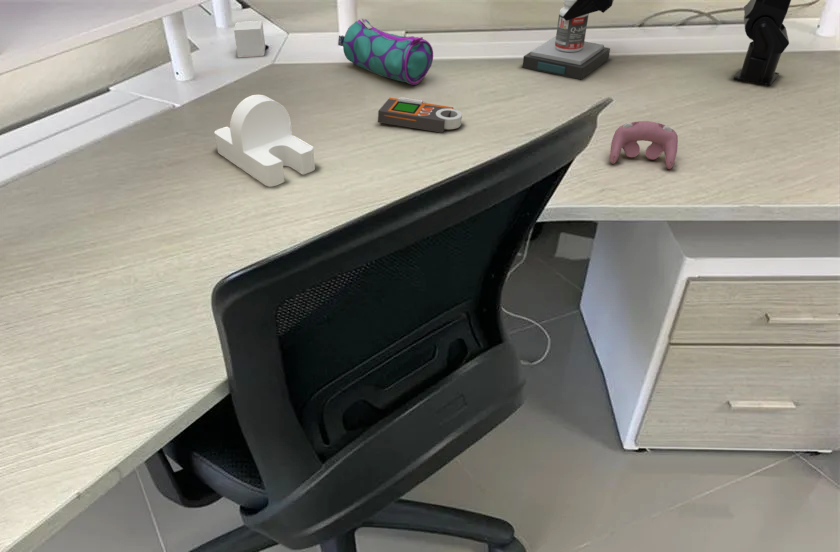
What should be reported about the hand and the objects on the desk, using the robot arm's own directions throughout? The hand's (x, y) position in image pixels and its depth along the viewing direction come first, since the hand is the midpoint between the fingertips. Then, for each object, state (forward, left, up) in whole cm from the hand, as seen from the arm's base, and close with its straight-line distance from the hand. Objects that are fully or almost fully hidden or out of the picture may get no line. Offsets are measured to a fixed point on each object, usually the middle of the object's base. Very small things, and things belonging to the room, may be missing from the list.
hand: (566, 14), depth 141 cm
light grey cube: (+29, -63, -10) cm, 70 cm away
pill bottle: (0, +1, -7) cm, 7 cm away
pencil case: (+23, -28, -10) cm, 38 cm away
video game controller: (+33, +30, -10) cm, 46 cm away
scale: (0, +1, -10) cm, 10 cm away
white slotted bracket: (+66, -22, -10) cm, 71 cm away
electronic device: (+40, -8, -10) cm, 42 cm away
